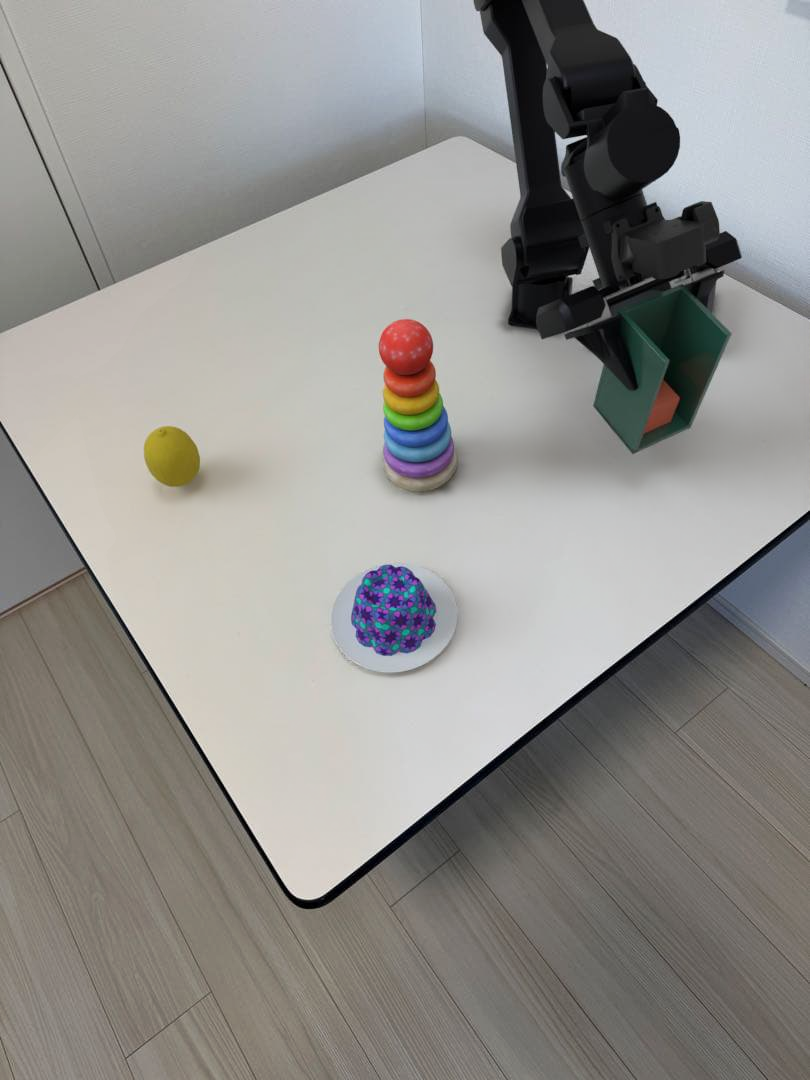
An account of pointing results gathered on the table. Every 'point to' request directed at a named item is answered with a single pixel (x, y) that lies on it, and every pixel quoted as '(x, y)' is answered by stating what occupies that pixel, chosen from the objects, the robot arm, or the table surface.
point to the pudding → (393, 617)
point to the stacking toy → (414, 411)
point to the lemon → (171, 456)
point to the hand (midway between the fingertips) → (666, 375)
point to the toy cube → (662, 407)
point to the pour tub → (662, 365)
